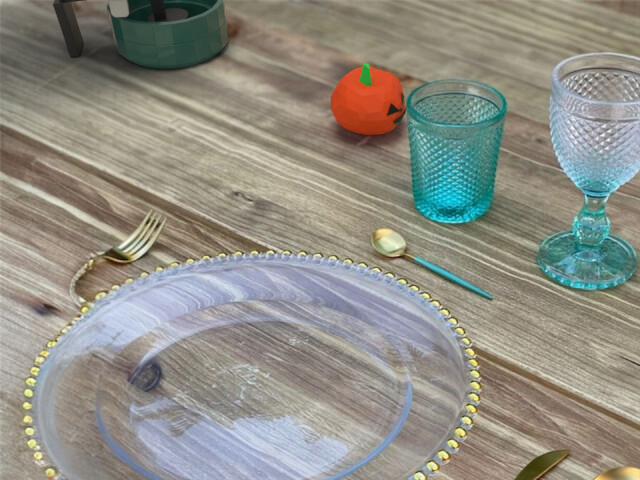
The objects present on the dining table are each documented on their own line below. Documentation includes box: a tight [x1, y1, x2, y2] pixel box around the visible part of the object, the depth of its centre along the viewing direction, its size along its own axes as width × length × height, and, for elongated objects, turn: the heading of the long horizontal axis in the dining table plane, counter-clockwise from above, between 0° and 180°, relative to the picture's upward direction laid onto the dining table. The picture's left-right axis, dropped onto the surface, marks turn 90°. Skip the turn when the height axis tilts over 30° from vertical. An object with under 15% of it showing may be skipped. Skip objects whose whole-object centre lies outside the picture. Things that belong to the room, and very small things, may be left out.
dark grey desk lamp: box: [52, 0, 190, 58], centre depth 100 cm, size 13×4×7 cm, turn 96°
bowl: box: [106, 0, 230, 70], centre depth 101 cm, size 12×12×5 cm
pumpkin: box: [330, 62, 407, 136], centre depth 88 cm, size 7×8×6 cm
